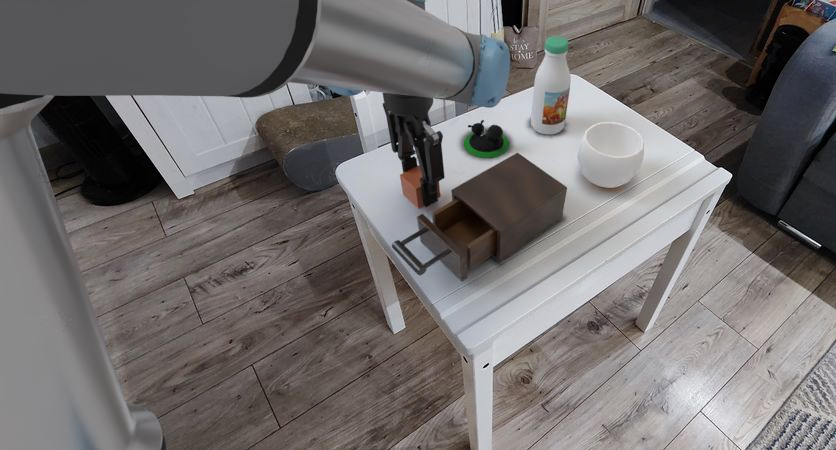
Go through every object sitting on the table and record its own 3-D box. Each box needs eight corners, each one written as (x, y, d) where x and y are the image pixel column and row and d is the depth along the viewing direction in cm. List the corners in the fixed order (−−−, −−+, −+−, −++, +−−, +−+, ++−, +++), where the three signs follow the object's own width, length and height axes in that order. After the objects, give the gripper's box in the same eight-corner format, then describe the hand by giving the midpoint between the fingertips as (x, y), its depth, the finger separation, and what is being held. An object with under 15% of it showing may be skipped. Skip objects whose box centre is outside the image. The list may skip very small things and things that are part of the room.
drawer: (430, 304, 71) (425, 280, 66) (389, 260, 76) (383, 235, 72) (525, 237, 80) (528, 212, 76) (483, 203, 86) (483, 177, 81)
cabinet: (499, 263, 78) (500, 231, 72) (453, 221, 84) (451, 189, 78) (561, 219, 85) (567, 187, 79) (515, 184, 91) (517, 152, 85)
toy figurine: (487, 124, 104) (487, 102, 100) (518, 144, 100) (520, 121, 95) (454, 142, 100) (452, 120, 95) (485, 164, 95) (485, 142, 91)
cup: (564, 163, 96) (570, 125, 88) (617, 153, 98) (627, 115, 91) (589, 203, 88) (598, 165, 81) (646, 191, 90) (659, 153, 83)
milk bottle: (527, 132, 103) (534, 47, 88) (533, 113, 108) (541, 29, 93) (561, 138, 102) (574, 52, 87) (566, 118, 107) (579, 34, 92)
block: (418, 209, 83) (415, 189, 79) (403, 195, 85) (399, 174, 82) (440, 197, 85) (438, 176, 82) (425, 183, 88) (422, 163, 84)
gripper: (463, 98, 65) (468, 211, 82) (394, 51, 74) (410, 163, 91) (420, 117, 62) (434, 231, 79) (353, 66, 71) (378, 179, 88)
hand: (421, 194), depth 85 cm, fingers closed on block, 5 cm apart
